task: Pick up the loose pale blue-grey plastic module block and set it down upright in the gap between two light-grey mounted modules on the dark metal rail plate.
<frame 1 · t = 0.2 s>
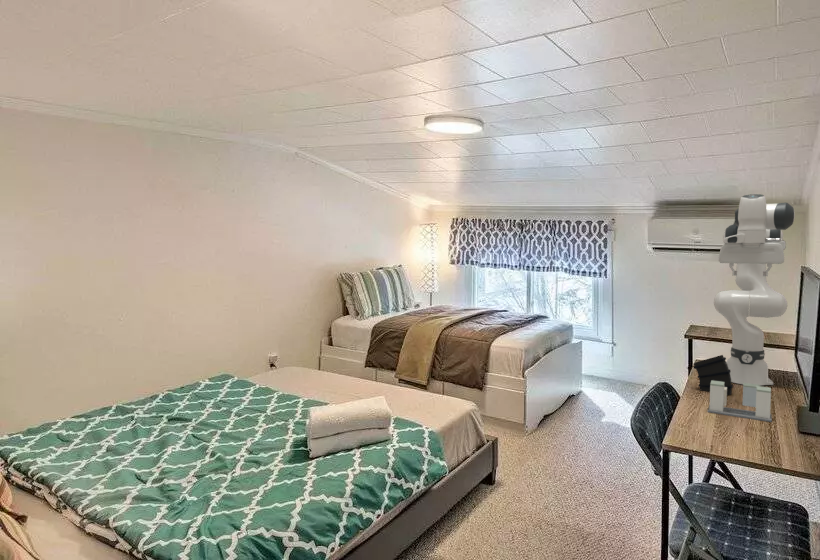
hand: (749, 275, 190), 47 cm above the table, fingers open, 8 cm apart
module a: (716, 410, 182), resting on rail plate
module: (750, 405, 188), on the table
module b: (762, 417, 174), resting on rail plate
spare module: (718, 403, 190), on the table
rail plate: (738, 414, 178), on the table
black ridged block: (712, 391, 205), on the table
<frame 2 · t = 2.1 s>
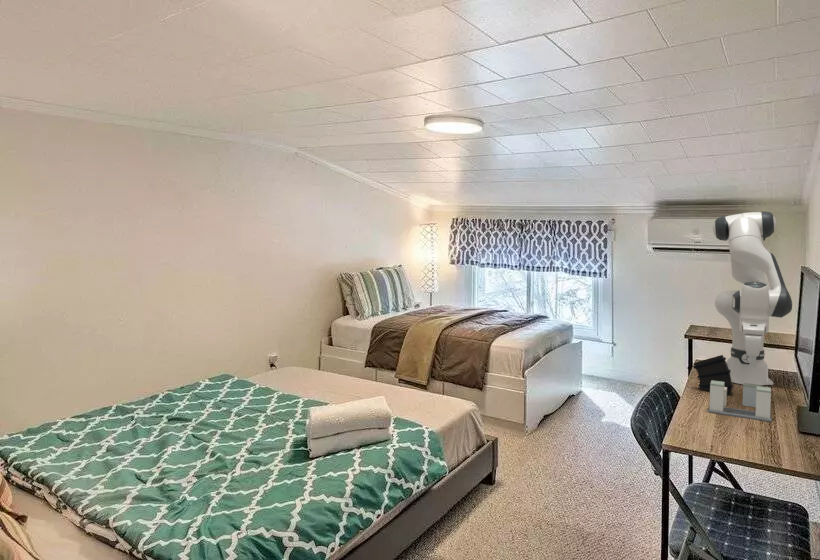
hand: (752, 364, 186), 15 cm above the table, fingers open, 8 cm apart
nothing on the table moved.
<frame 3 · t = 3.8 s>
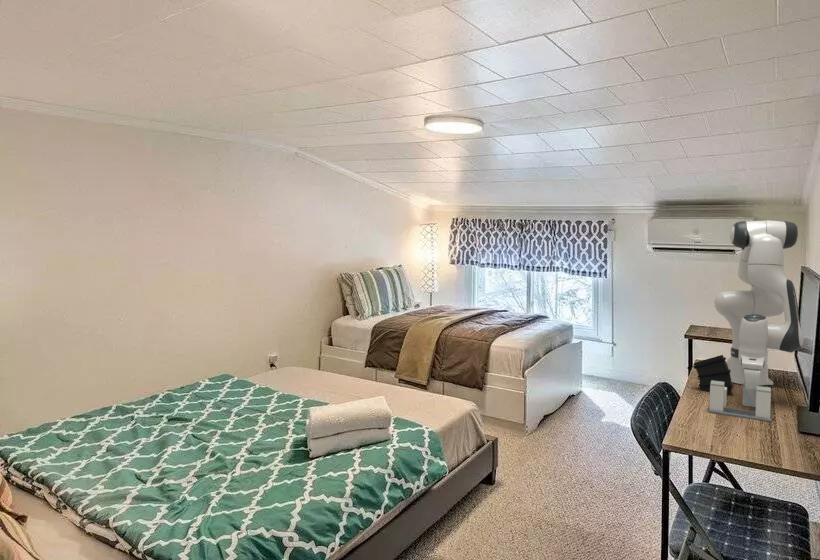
hand: (751, 396, 188), 3 cm above the table, fingers closed on module, 4 cm apart
module: (750, 404, 188), on the table, touching gripper
everything else where it was.
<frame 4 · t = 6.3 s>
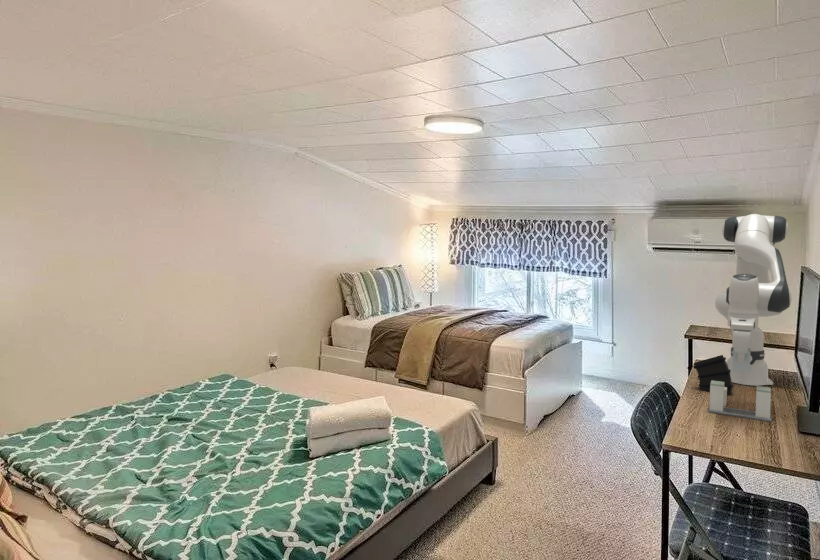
hand: (741, 361, 177), 19 cm above the table, fingers closed on module, 4 cm apart
module: (741, 370, 177), point 16 cm above the table, touching gripper
everything else where it was.
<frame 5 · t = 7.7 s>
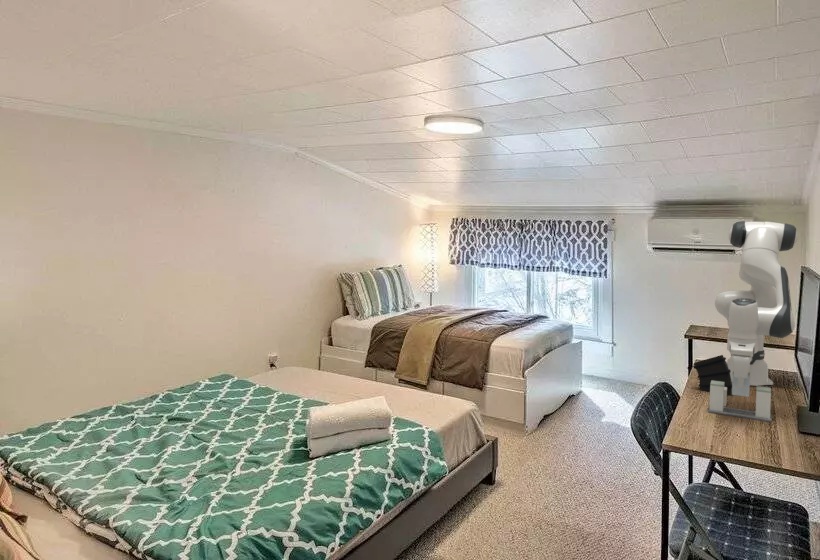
hand: (740, 385, 177), 10 cm above the table, fingers closed on module, 4 cm apart
module: (740, 394, 177), point 7 cm above the table, touching gripper
everything else where it was.
when the fingers open (5 cm above the table, at t = 9.0 s): module drops 1 cm, resting on rail plate.
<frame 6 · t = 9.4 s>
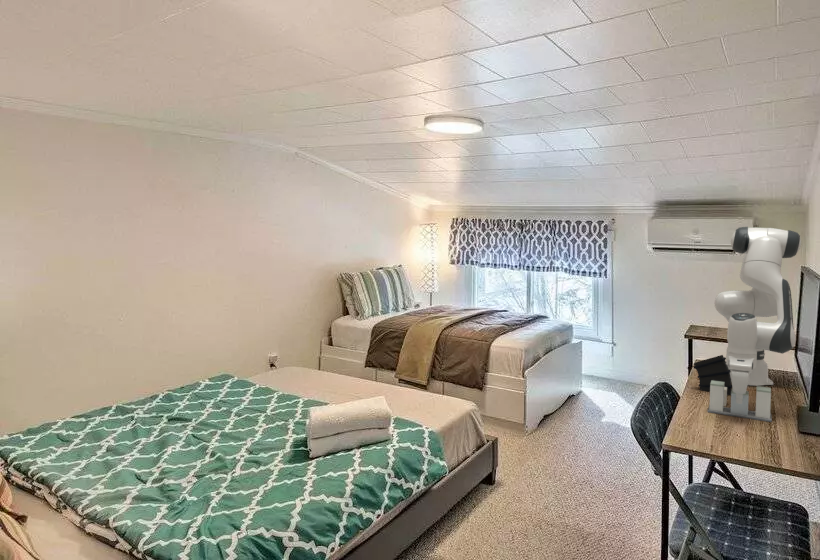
hand: (739, 399, 178), 5 cm above the table, fingers open, 8 cm apart
module: (739, 412, 178), resting on rail plate
everything else where it was.
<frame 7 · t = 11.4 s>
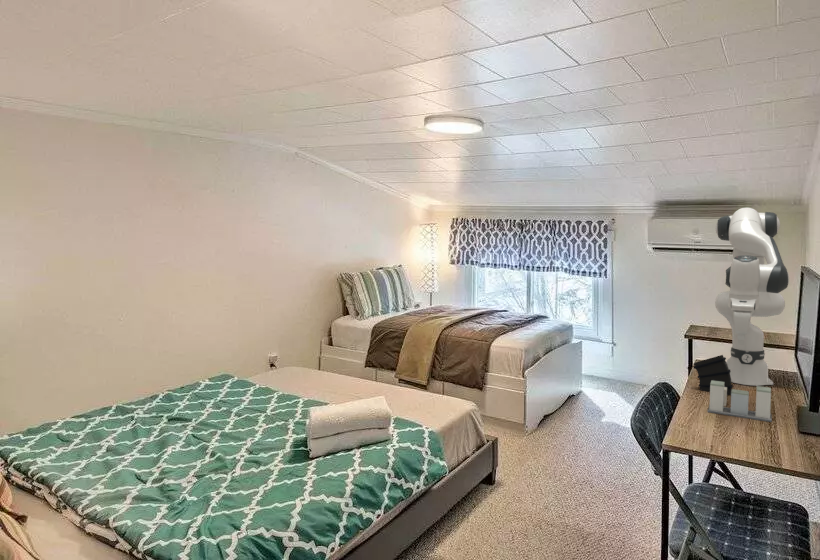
hand: (741, 342, 178), 25 cm above the table, fingers open, 8 cm apart
nothing on the table moved.
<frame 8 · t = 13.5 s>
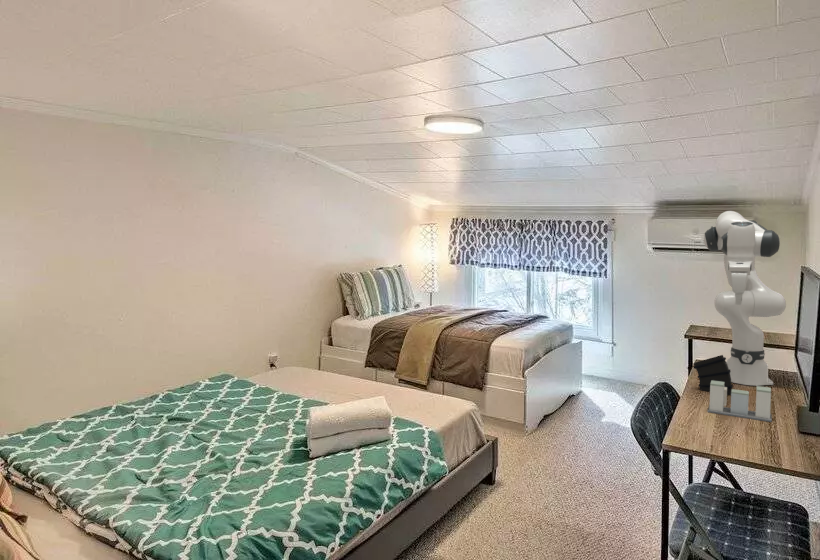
hand: (738, 303, 189), 37 cm above the table, fingers open, 8 cm apart
nothing on the table moved.
at the end: module inside the target area (0.1 cm from its centre), point 0.5 cm above the table; module tilted 0°; the gripper is holding nothing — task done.
